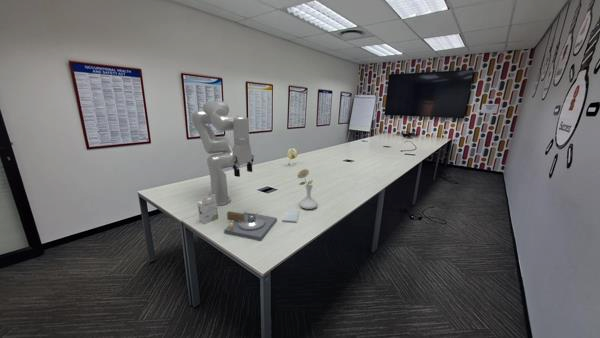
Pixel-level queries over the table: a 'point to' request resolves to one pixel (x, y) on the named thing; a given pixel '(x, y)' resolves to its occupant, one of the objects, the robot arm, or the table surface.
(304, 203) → the flower in vase
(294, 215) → the hard drive
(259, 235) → the base plate
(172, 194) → the table surface
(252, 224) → the wooden handled frying pan
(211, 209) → the ink box
